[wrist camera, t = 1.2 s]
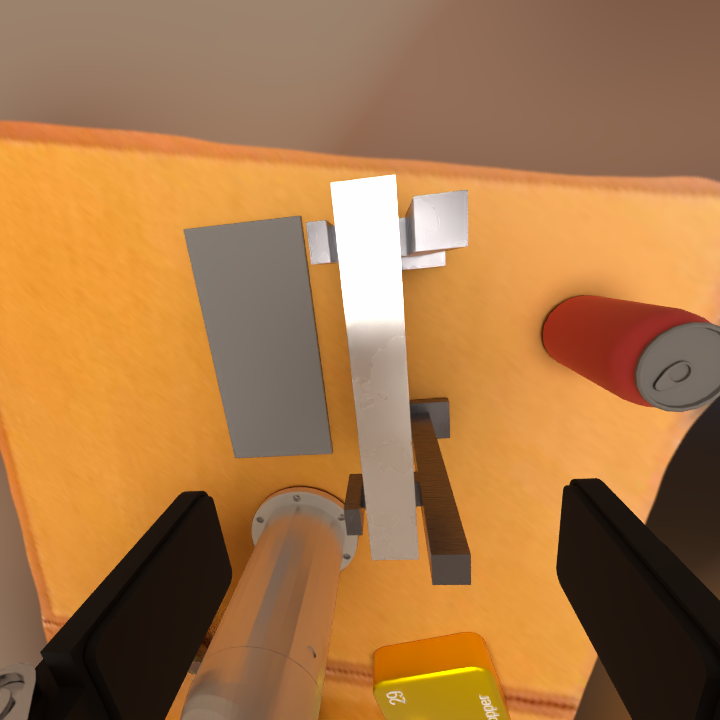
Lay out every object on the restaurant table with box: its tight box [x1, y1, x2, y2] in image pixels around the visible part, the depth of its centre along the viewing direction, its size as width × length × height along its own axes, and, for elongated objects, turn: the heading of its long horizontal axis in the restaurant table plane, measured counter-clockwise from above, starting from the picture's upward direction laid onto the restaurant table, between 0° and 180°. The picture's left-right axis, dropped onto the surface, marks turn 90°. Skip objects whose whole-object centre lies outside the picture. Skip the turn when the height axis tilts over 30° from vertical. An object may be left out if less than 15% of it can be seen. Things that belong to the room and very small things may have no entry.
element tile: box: [373, 632, 511, 720], centre depth 43 cm, size 15×15×5 cm
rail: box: [331, 175, 419, 560], centre depth 20 cm, size 22×3×3 cm, turn 6°
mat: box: [184, 216, 333, 458], centre depth 33 cm, size 24×11×1 cm, turn 6°
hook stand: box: [306, 190, 471, 585], centre depth 24 cm, size 21×9×18 cm, turn 6°
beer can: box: [543, 295, 720, 412], centre depth 25 cm, size 7×7×12 cm
